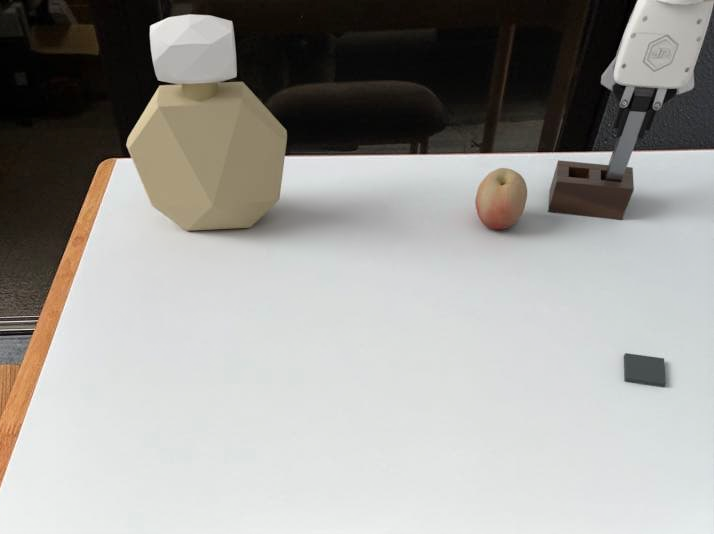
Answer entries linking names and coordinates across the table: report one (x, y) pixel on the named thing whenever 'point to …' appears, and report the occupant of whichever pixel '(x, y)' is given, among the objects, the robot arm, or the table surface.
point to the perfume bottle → (205, 131)
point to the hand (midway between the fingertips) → (629, 132)
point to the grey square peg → (628, 135)
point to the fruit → (501, 198)
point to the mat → (644, 370)
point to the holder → (589, 191)
